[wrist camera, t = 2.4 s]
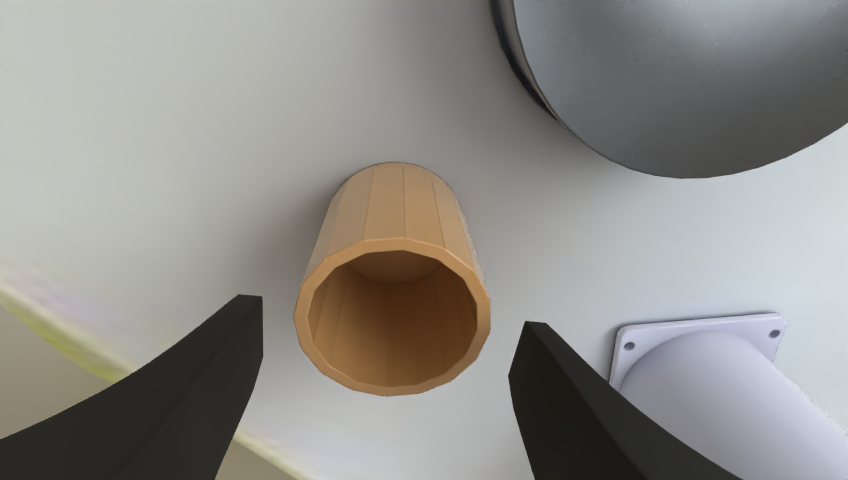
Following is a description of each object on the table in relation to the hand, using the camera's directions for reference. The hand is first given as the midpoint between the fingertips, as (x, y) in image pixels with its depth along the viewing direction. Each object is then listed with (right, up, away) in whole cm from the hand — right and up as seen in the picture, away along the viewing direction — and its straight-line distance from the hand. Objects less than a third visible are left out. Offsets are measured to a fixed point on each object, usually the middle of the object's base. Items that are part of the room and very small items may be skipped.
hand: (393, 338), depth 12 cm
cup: (0, +3, +6) cm, 7 cm away
